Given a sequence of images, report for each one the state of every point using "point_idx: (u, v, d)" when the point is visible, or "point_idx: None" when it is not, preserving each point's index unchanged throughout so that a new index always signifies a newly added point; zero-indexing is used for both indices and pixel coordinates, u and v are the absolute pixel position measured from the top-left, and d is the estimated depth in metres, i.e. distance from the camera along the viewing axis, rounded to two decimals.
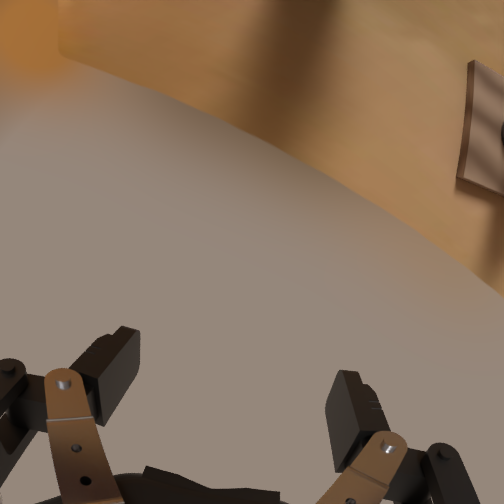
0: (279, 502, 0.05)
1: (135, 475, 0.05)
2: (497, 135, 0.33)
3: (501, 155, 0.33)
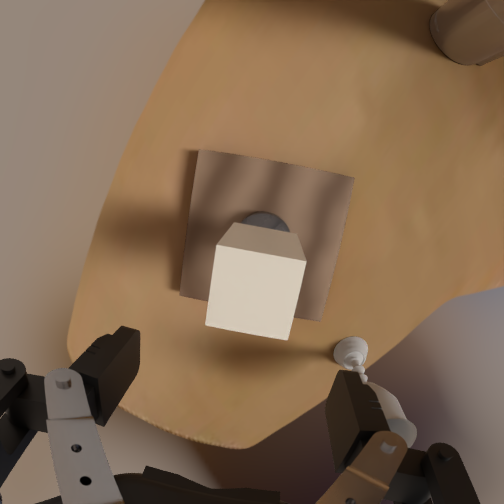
0: (279, 502, 0.05)
1: (135, 475, 0.05)
2: (259, 204, 0.36)
3: (235, 211, 0.37)
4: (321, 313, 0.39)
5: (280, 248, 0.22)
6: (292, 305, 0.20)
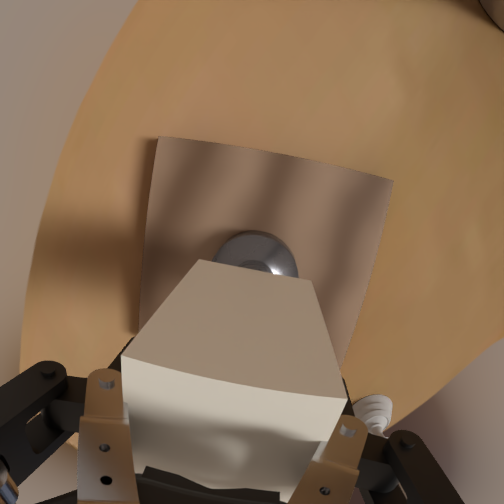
0: (279, 502, 0.05)
1: (135, 475, 0.05)
2: (249, 219, 0.24)
3: (212, 230, 0.24)
4: None
5: (282, 346, 0.09)
6: (304, 470, 0.08)
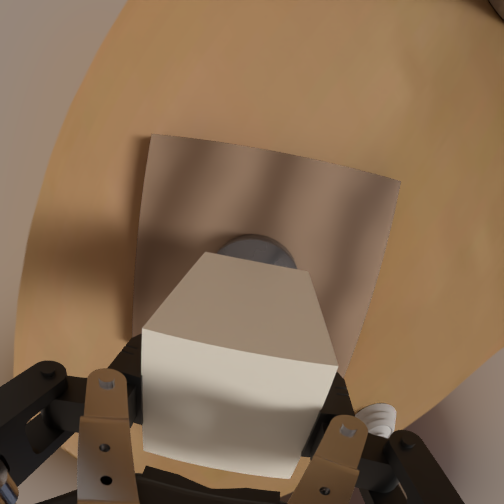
0: (279, 502, 0.05)
1: (135, 475, 0.05)
2: (247, 222, 0.22)
3: (208, 233, 0.23)
4: None
5: (281, 323, 0.11)
6: (302, 436, 0.09)
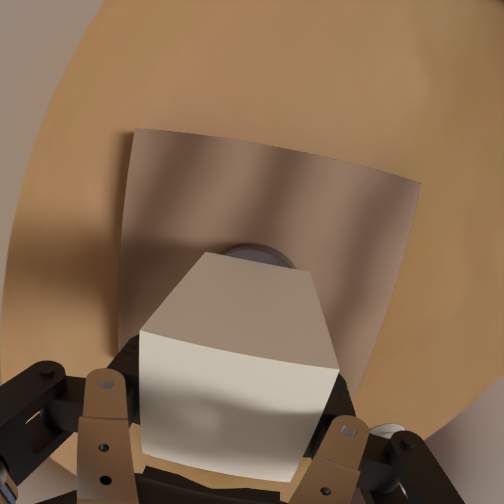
0: (279, 502, 0.05)
1: (135, 475, 0.05)
2: (244, 230, 0.19)
3: (199, 242, 0.20)
4: None
5: (282, 325, 0.10)
6: (302, 440, 0.09)
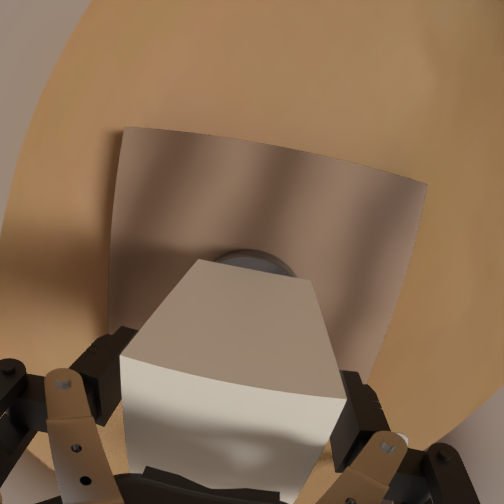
0: (279, 502, 0.05)
1: (135, 475, 0.05)
2: (241, 235, 0.18)
3: (192, 248, 0.18)
4: None
5: (281, 346, 0.09)
6: (303, 470, 0.08)
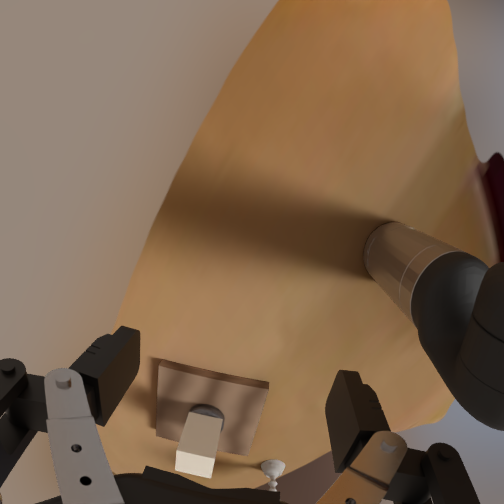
0: (279, 502, 0.05)
1: (135, 475, 0.05)
2: (202, 400, 0.49)
3: (187, 402, 0.50)
4: (248, 452, 0.52)
5: (206, 446, 0.41)
6: (211, 469, 0.39)
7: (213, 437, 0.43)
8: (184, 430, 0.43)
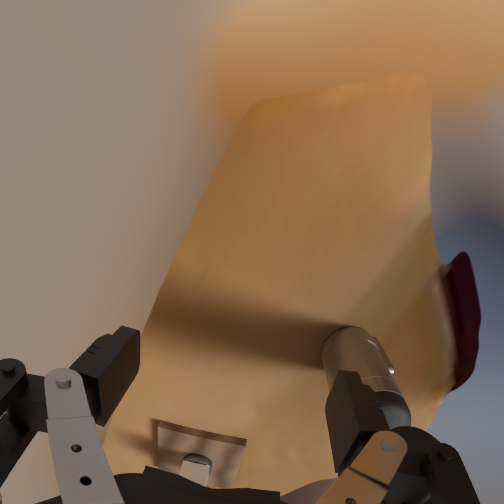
0: (279, 502, 0.05)
1: (135, 475, 0.05)
2: (194, 451, 0.57)
3: (181, 451, 0.57)
4: (232, 487, 0.60)
5: None
6: None
7: (202, 481, 0.50)
8: None
